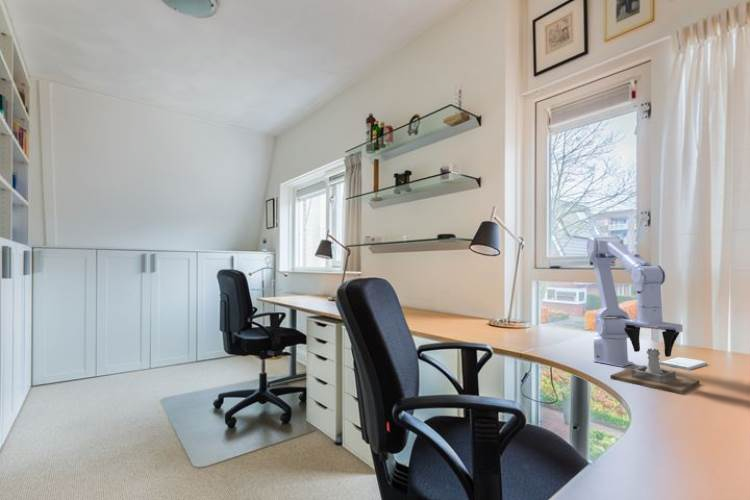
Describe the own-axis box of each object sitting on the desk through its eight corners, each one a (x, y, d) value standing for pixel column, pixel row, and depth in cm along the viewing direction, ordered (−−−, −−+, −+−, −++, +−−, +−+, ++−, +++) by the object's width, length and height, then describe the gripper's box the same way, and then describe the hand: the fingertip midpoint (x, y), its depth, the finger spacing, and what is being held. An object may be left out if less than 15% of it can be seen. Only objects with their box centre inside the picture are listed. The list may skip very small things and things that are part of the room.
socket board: (610, 378, 110) (609, 368, 110) (631, 370, 118) (630, 361, 118) (681, 394, 96) (680, 382, 96) (699, 383, 104) (699, 372, 104)
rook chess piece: (666, 380, 104) (665, 351, 105) (647, 378, 106) (646, 350, 106) (661, 375, 108) (659, 348, 109) (643, 374, 110) (641, 347, 110)
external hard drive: (707, 366, 123) (688, 372, 117) (678, 361, 130) (659, 366, 124) (706, 361, 123) (688, 366, 117) (677, 356, 130) (658, 361, 124)
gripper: (615, 305, 112) (618, 351, 111) (674, 310, 100) (677, 360, 99) (626, 304, 116) (628, 347, 115) (684, 307, 104) (687, 356, 103)
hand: (652, 353), depth 107 cm, fingers open, 7 cm apart
